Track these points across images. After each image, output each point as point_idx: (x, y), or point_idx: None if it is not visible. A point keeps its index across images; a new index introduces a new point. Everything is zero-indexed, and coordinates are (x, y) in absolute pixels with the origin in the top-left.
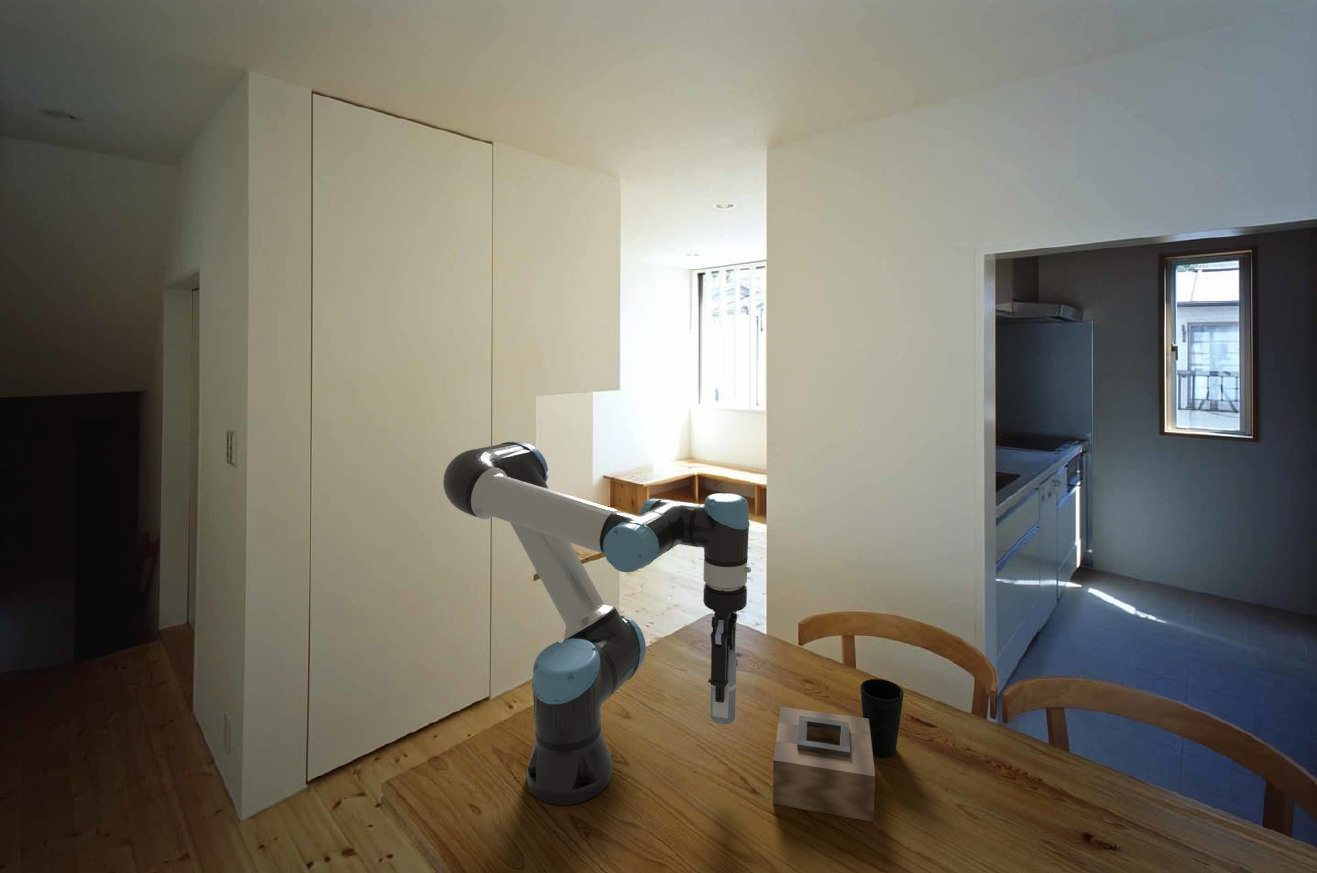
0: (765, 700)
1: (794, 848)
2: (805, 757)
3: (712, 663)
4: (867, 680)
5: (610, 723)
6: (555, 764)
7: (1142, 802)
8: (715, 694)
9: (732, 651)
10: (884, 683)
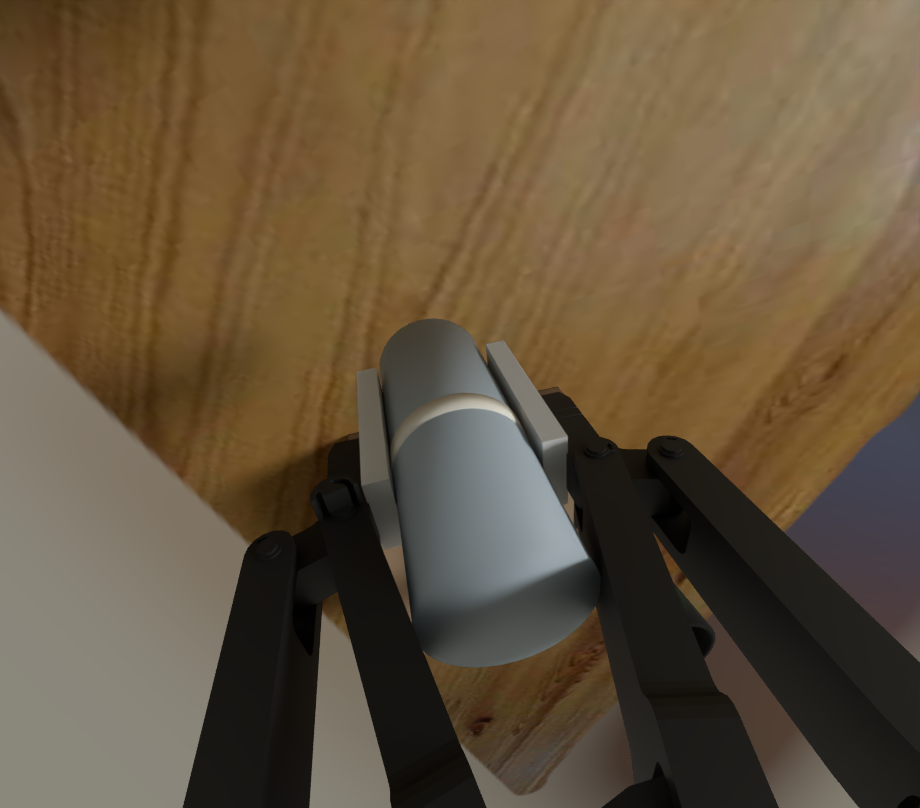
0: (747, 293)
1: (249, 502)
2: (400, 561)
3: (208, 725)
4: (706, 628)
5: None
6: None
7: (563, 736)
8: (329, 472)
9: (564, 628)
10: (703, 642)
